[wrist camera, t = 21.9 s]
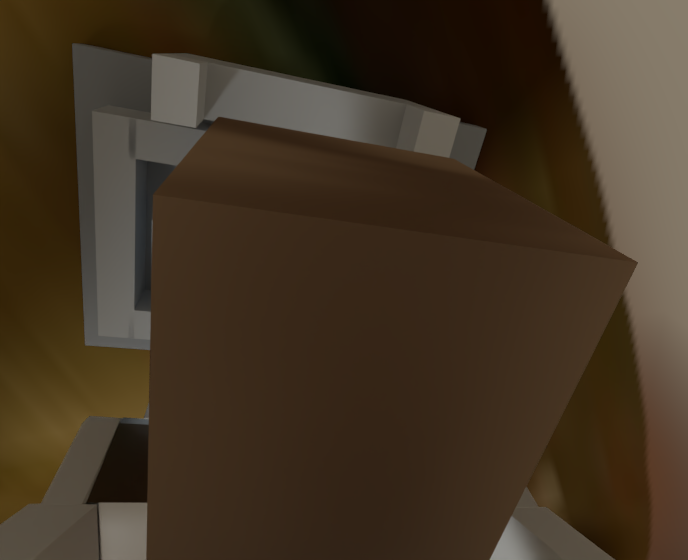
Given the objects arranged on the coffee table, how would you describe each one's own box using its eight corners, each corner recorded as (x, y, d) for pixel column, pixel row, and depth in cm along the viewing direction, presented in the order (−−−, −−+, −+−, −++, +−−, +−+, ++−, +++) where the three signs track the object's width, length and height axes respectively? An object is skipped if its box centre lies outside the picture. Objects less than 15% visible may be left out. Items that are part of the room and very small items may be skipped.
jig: (93, 339, 19) (29, 448, 14) (83, 30, 15) (-22, 17, 9) (402, 362, 23) (445, 458, 17) (479, 114, 18) (571, 141, 12)
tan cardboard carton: (187, 538, 11) (141, 806, 7) (218, 116, 7) (153, 194, 3) (344, 536, 12) (382, 774, 8) (453, 158, 8) (637, 262, 4)
